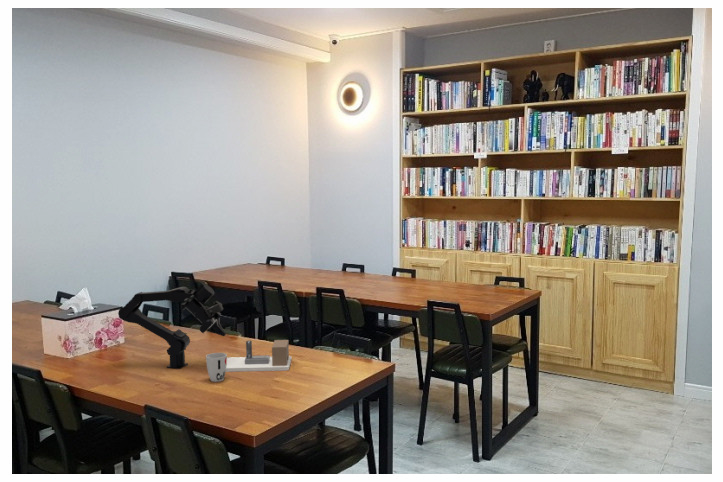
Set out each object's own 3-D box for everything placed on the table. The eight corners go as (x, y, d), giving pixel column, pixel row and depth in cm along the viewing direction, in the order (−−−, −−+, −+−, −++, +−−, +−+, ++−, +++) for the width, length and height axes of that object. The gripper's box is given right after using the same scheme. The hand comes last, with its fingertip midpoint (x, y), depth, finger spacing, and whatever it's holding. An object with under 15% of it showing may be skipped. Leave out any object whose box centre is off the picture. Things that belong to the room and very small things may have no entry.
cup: (217, 384, 238) (217, 359, 237) (202, 381, 242) (201, 356, 241) (231, 378, 245) (231, 354, 244) (216, 375, 249) (215, 351, 248)
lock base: (216, 371, 254) (216, 349, 253) (223, 360, 270) (223, 339, 269) (288, 370, 255) (288, 348, 254) (291, 359, 271) (291, 338, 270)
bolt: (245, 362, 261) (244, 342, 260) (246, 360, 264) (245, 340, 263) (268, 362, 261) (268, 341, 260) (269, 360, 264) (269, 340, 263)
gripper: (206, 301, 250) (234, 327, 251) (215, 292, 268) (241, 317, 270) (187, 320, 250) (215, 346, 252) (198, 310, 269) (224, 334, 270)
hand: (225, 335), depth 261 cm, fingers closed
